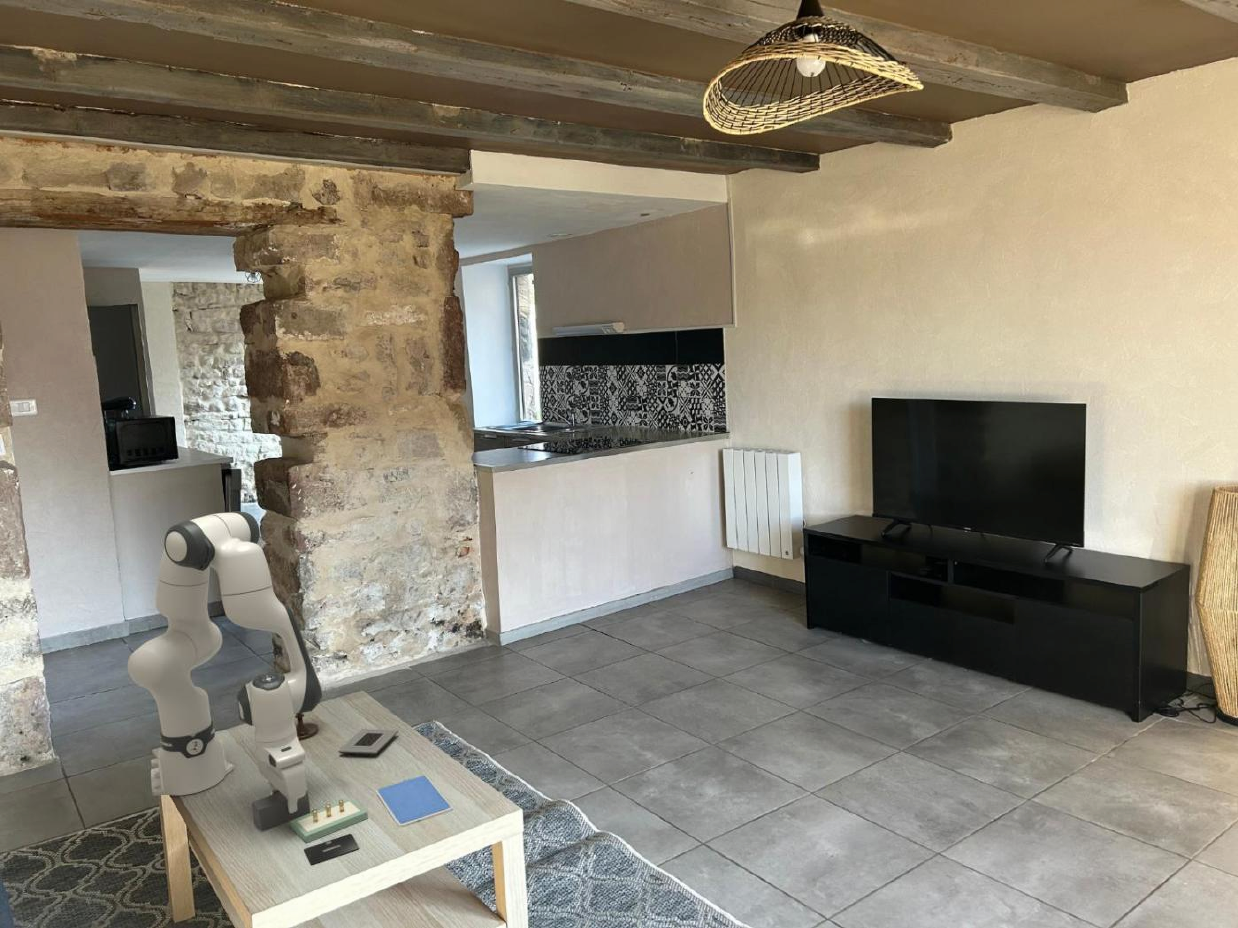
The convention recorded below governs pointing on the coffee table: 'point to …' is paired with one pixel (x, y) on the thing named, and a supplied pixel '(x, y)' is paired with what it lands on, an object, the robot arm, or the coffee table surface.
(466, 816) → the coffee table surface
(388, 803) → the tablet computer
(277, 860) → the coffee table surface
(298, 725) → the candlestick
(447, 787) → the coffee table surface
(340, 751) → the grey flat piece
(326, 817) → the header board
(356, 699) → the coffee table surface
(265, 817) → the block
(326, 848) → the solid state drive
